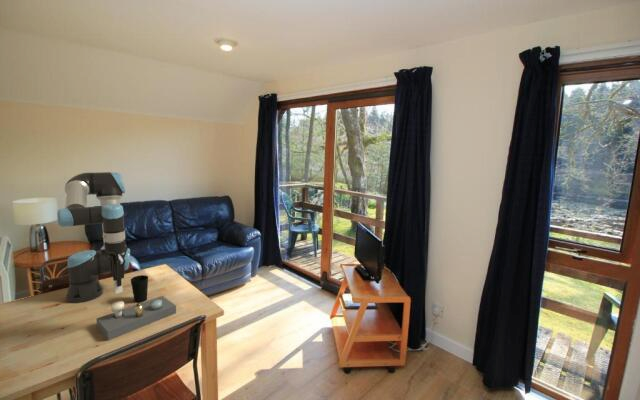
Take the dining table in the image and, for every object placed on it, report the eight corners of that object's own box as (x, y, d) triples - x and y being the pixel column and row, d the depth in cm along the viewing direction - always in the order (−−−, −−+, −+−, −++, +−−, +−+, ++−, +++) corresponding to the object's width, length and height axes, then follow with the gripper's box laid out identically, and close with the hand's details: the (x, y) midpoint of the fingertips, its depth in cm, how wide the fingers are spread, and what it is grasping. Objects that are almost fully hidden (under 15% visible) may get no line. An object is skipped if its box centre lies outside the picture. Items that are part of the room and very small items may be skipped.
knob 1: (110, 317, 133) (109, 304, 132) (122, 313, 137) (121, 300, 136) (114, 321, 130) (113, 308, 129) (126, 317, 134) (125, 303, 133)
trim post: (134, 315, 134) (133, 304, 133) (141, 313, 136) (140, 302, 135) (137, 318, 132) (136, 306, 131) (144, 315, 134) (143, 304, 133)
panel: (97, 326, 131) (96, 318, 130) (162, 303, 153) (162, 295, 152) (108, 340, 123) (107, 331, 122) (176, 313, 145) (175, 305, 144)
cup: (141, 304, 150) (140, 282, 148) (128, 302, 152) (126, 280, 150) (152, 297, 158) (151, 276, 156) (140, 295, 159) (139, 274, 157)
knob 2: (149, 315, 141) (148, 302, 140) (159, 311, 145) (159, 298, 144) (153, 318, 138) (153, 305, 137) (164, 314, 142) (163, 302, 141)
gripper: (98, 239, 129) (103, 290, 133) (110, 246, 121) (114, 300, 125) (118, 235, 135) (122, 284, 139) (131, 242, 127) (134, 293, 131)
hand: (118, 292), depth 132 cm, fingers closed
